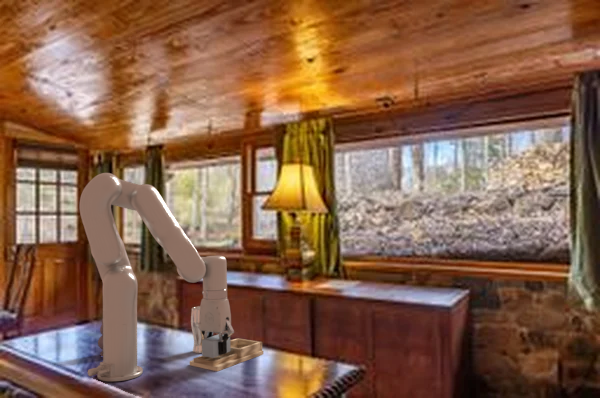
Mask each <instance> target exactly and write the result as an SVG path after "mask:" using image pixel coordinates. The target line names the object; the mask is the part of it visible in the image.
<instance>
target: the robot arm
mask: <svg viewBox="0 0 600 398" xmlns="http://www.w3.org/2000/svg"><path fill="white" fill-rule="evenodd" d="M112 206H116V207H120V208H123V209H127V210H132V211H136V212H137V214H138V215H139V217H140V219H142V221H143V223H144V225H145V226H146V228H147V229H148V230H149V232H150V234H151V235H152V237H153V238H154V239H155V242H156V243H157V244H159V245H160V246H161V248H163V250H164V251H165V252H166V253H167V255H168V256H169V257H170V259H171V260H172V262H173V263H174V265H175V267H176V271H177V273H178V275H179V276H180V277H181V278H182V279H183V280H184V281H186V282H188V283H193V284H194V283H197V282H200V281H201V280H202V292H201V293H202V299H201V301H200V305H199V306H200V316H199V327H198V328H199V329H200V331H201V332H202V334H203V335H204V339H206V338H209V337H212V336H214V333H215V334H217V335H219V340H220V342H218V351H219V355H222V354H225V353H227V340H228V338H229V337H230V338H231V336H232V335H233V334H235V330H234V328H233V326H232V313H231V306H230V302H229V298H228V271H227V268H228V267H227V265H228V264H227V259H226V257H225V256H223V255H207V256H201V255H200V253H199V252H198V251H197V249H196V248H195V246H194V245H193V243H192V241H191V240H190V239H189V237H188V235H187V234H186V233H185V231H184V229H183V228H182V226H181V225H180V224H179V221H178V220H177V219H176V217H175V215H174V214H173V213H172V211H171V210H170V208H169V206H168V204H167V203H166V202H165V200H164V198H163V197H162V195H161V194H160V192H159V191H158V190H157V188H156V187H155V186H153V185H152V184H148V183H147V184H146V183H145V184H138V183H133V182H130V181H127V180H123V179H120V178H119V177H118V176H117V175H115V174H114V173H112V172H111V173H110V172H102V173H99V174H97V175H96V176H94V177H93V178H92V179H91V180H90V181H89V182H88V183H87V184H86V185H85V187H84V188H83V190H82V192H81V195H80V197H79V214H80V218H81V222H82V224H83V227H84V232H85V234H86V237H87V240H88V243H89V246H90V252H91V256H92V257H93V259H94V261H95V265H96V267H97V270H98V273H99V276H100V279H101V280H102V281H101V282H102V320H103V358H102V359H103V360H102V361H100V362H99V365H98V366H97V367H93V368H90V369H88V370H87V375H88V377H93V376H95V375H97V379H98V380H100V381H103V382H121V381H128V380H132V379H135V378H138V377H141V375H142V374H143V372H144V370H143V367H141V366H139V365H138V290H139V289H138V288H139V286H138V278H137V277H136V274H135V273H134V270H133V268H132V265H131V262H130V259H129V256H128V253H127V250H126V247H125V244H124V243H125V242H124V241H123V240H122V238H121V236H120V233H119V231H118V227H117V225H116V222H115V221H116V220H115V218H114V215H113V211H112ZM223 335H224V336H223Z"/></svg>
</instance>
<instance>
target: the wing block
mask: <svg viewBox="0 0 600 398" xmlns="http://www.w3.org/2000/svg"><path fill="white" fill-rule="evenodd" d="M222 335H223V336H224V334H222ZM230 340H231V336H230V337H229V338H228V340H227V352H230V351H231V348H230ZM218 342H220V340H219V335H218V334H216V335H213V336H212V337H209V338H206V339H203V340H202V353H201V356H204V357H211V358H214V357H217V356H220V355H219V351H218Z"/></svg>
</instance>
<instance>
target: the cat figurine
mask: <svg viewBox="0 0 600 398" xmlns="http://www.w3.org/2000/svg"><path fill="white" fill-rule="evenodd" d="M100 321H101V325H100V328H99V332H100V334H101V336H100V337H99V338H98V341H97V345H98V347H99V348H100V349H101V351H100V352H99V356H100V355H101V356H103V318H102V319H100Z"/></svg>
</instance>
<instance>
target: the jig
mask: <svg viewBox="0 0 600 398" xmlns="http://www.w3.org/2000/svg"><path fill="white" fill-rule="evenodd" d="M230 348H231V351H230V352H227V353H225V354H222V355H220V356H217V357H214V358H211V357H204V356H202V355H200V356H196V357H194V358H193V359H192V360H189V366H192V367H195V368H201V369H205V370H210V371H214V372H220V371H222V370H225V369H227V368H230V367H233V366H235V365H238V364H241V363H244V362H247V361H248V360H252V359H254V358H257V357H258V358H259V357H261V356H264V350H263V342H262V341H257V340H251V339H244V338H238V337H237V338H234V339H230Z"/></svg>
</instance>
